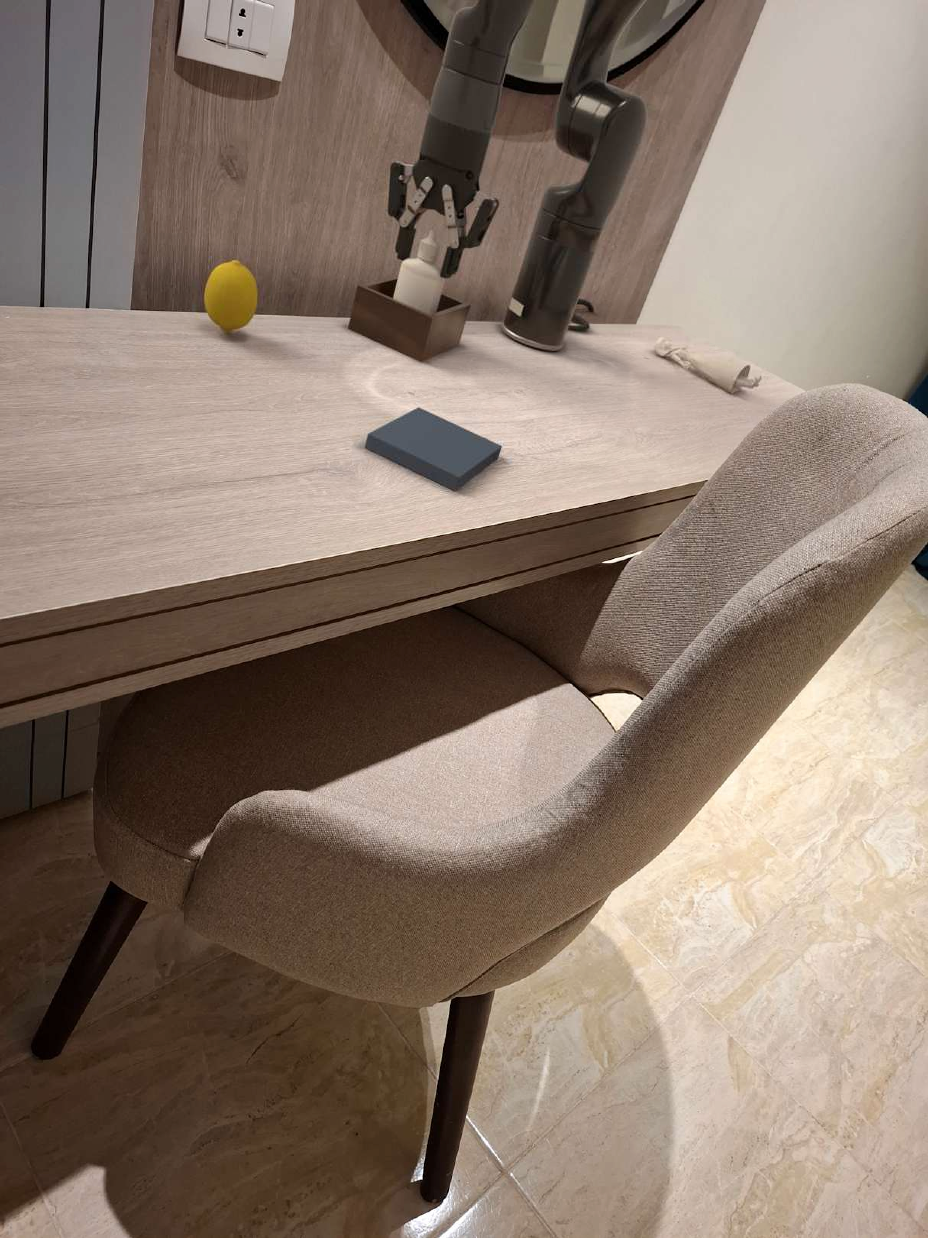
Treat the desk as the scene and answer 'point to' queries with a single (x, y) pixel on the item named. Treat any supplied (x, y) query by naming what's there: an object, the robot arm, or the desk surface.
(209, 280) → the lemon
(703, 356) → the woman figurine
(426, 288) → the eye dropper bottle
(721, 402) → the desk surface
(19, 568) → the desk surface
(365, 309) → the box
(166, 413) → the desk surface
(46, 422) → the desk surface
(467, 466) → the block
